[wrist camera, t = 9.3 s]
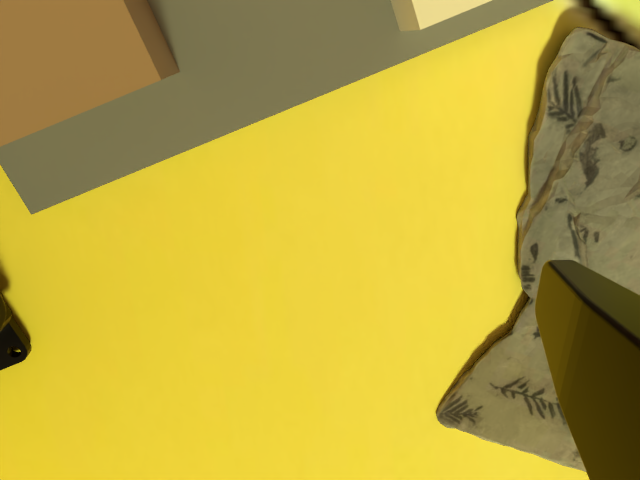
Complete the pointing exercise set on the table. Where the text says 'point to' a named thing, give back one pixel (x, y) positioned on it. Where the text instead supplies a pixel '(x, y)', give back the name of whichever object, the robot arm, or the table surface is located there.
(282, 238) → the table surface
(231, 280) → the table surface
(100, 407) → the table surface
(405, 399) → the table surface
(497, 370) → the fossil rock
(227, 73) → the building board
